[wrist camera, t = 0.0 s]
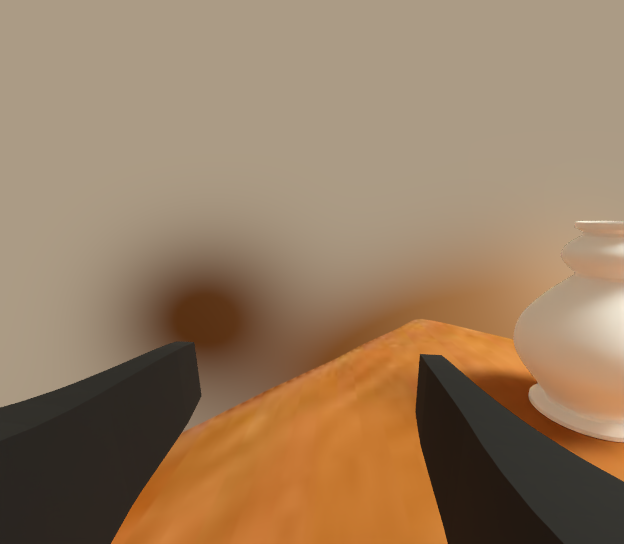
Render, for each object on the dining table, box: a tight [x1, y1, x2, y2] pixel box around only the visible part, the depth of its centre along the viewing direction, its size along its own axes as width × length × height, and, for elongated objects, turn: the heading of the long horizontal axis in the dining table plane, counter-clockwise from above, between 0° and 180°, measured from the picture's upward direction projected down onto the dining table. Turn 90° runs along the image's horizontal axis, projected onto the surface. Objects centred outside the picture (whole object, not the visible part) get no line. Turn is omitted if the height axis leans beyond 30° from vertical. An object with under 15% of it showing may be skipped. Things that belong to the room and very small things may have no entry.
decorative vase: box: [514, 221, 624, 442], centre depth 41 cm, size 18×18×25 cm
